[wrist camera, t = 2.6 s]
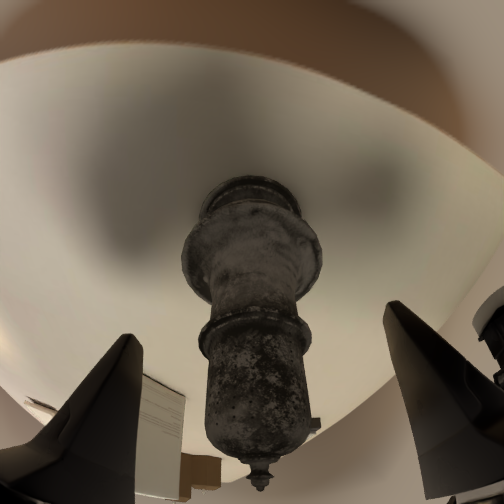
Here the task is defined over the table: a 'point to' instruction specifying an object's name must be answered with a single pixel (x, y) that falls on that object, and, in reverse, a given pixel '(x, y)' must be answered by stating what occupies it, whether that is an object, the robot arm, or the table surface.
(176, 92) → the table surface
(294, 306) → the pepper mill
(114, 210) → the table surface
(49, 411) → the wall bracket
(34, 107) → the table surface
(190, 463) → the candle
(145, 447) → the white packaging box
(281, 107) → the table surface
